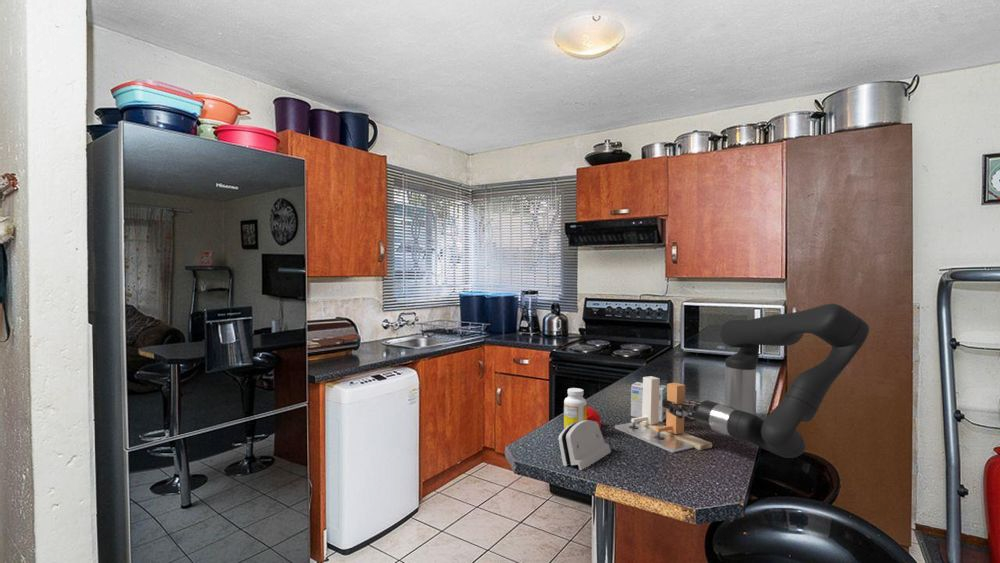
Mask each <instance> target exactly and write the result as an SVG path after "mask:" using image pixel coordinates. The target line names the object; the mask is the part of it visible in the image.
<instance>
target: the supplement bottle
mask: <svg viewBox="0 0 1000 563" xmlns="http://www.w3.org/2000/svg"><path fill="white" fill-rule="evenodd" d="M584 393H585V392H584V389H582V388H577V387H570V388H568V389H567V397H565V398H564V400H563V430H564V429H565V428H566V427H567V426H569V425H571V424H573V423H575V422H578V421H585V420H586V408H587V407H588V406H587V400H586V399H585V398H584V397H583V396H584Z"/></svg>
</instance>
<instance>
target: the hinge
mask: <svg viewBox="0 0 1000 563" xmlns="http://www.w3.org/2000/svg"><path fill="white" fill-rule="evenodd" d="M558 443H559V449H560V455H561V461H562V465H563V467H568V466H569V465H570V466H578V470H579V471H580V470H582V469H584V468H585V469H587V468H588V467H590V466H592V465H593V464H595V463H596V462H598V461H599V460H601V459H602V458H604V457H605V456H607V455H608V454H610V453H612V450H611V447H610V444H608V443H606V442H605V439H604V437H603V434H602V431H601V428H599V425H598V423H597V422H596V421H592V420H590V421H589V420H585V421H578V422H575V423H573V424H571V425H569V426H567V427H566V428H565V429H564V428H563V430H562V431H561V432H560V434H559V435H558ZM591 464H592V465H591ZM586 467H587V468H586ZM585 469H584V470H585ZM582 471H583V470H582Z"/></svg>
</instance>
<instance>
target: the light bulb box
mask: <svg viewBox="0 0 1000 563" xmlns="http://www.w3.org/2000/svg"><path fill="white" fill-rule="evenodd" d="M630 390H631V391H630V417H632V418H638V417H642V399H643V382H639V381H636V382H634V383H632V384H631V388H630ZM662 400H667V385H662V384H661V385H660V386H659V422H660V423H663V421H665V420H666V415H667V408H664V407H663V406H662Z"/></svg>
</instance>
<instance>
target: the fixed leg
mask: <svg viewBox="0 0 1000 563" xmlns="http://www.w3.org/2000/svg"><path fill="white" fill-rule="evenodd" d="M660 379H661V378H660V377H656V376H652V375H650V376H643V377H642V383H643V399H642V417H632V418H631V419H630V421H631V422H632V426H633V427H635V423H640V422H645V423H647V424H650V425H652V424H657V423H660V421H659V386H660V384H661V382H660ZM631 422H630V423H631Z"/></svg>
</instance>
